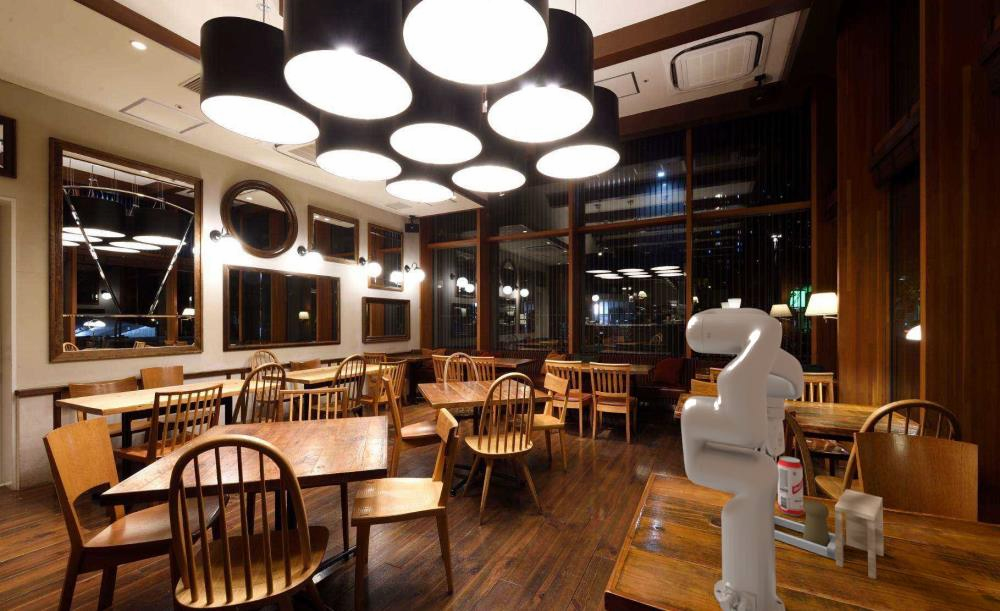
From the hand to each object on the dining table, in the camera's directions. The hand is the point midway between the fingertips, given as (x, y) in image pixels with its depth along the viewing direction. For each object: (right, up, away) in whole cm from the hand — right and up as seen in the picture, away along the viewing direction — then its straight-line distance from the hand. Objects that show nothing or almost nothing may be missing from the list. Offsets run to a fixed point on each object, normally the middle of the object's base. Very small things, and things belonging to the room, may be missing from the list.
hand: (769, 479), depth 114 cm
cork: (+7, -14, -7) cm, 18 cm away
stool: (+13, -14, -14) cm, 24 cm away
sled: (+4, -14, -3) cm, 15 cm away
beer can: (+13, -15, +10) cm, 22 cm away
